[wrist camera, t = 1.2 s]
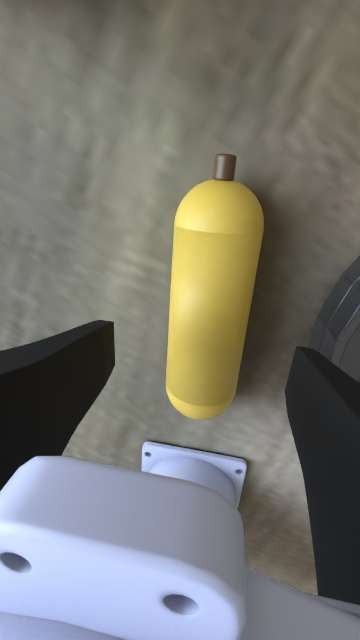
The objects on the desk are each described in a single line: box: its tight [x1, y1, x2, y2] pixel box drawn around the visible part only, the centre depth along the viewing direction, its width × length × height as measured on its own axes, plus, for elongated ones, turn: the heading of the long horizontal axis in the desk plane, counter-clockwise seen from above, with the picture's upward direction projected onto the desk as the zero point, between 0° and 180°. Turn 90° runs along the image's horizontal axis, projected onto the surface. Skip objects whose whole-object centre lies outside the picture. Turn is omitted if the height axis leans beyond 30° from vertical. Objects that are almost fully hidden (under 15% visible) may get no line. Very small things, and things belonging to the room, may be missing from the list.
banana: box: [166, 154, 264, 420], centre depth 16 cm, size 14×4×4 cm, turn 176°
